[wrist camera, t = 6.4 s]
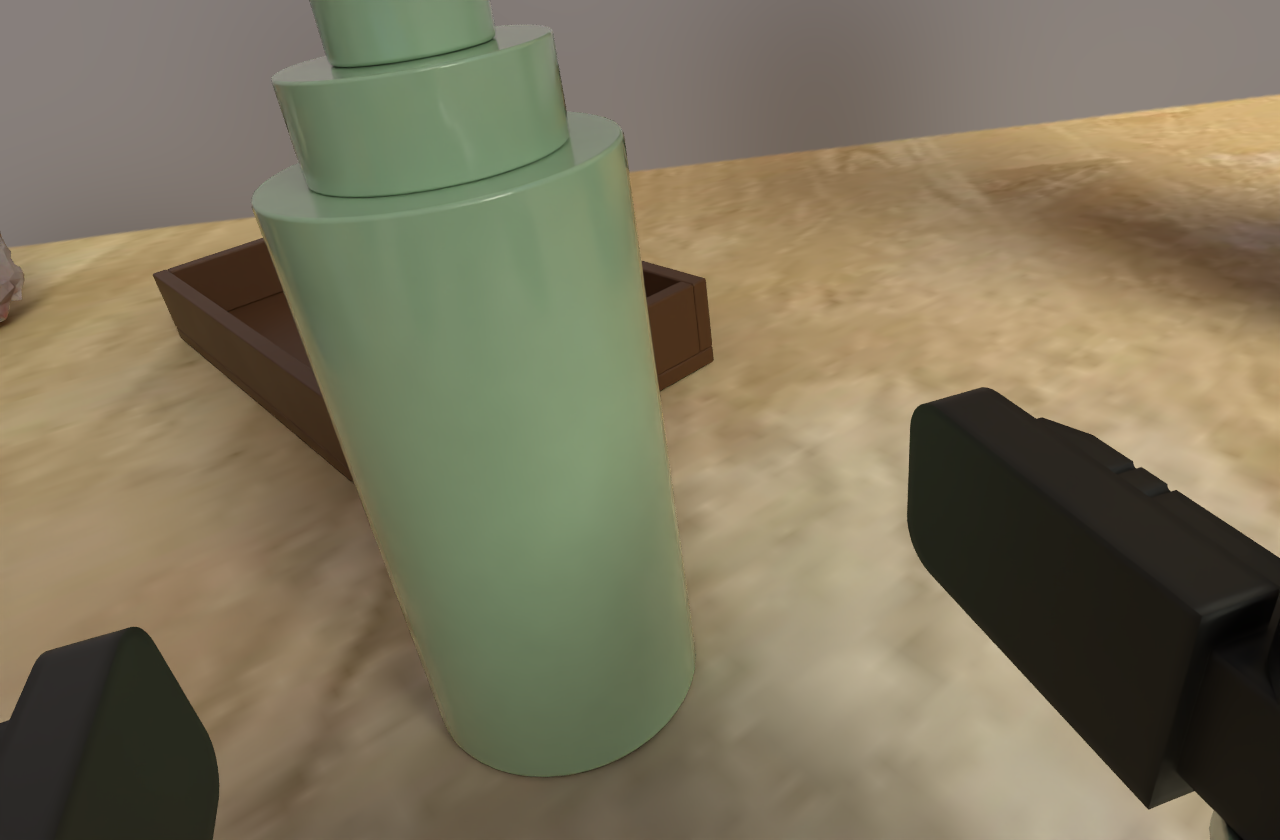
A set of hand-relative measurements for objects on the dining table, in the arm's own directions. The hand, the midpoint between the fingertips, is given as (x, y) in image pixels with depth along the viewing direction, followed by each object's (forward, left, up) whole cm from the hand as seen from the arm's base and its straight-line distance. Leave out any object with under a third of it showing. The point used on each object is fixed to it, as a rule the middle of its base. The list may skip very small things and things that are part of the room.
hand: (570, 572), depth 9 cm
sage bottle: (-3, -6, -8) cm, 10 cm away
